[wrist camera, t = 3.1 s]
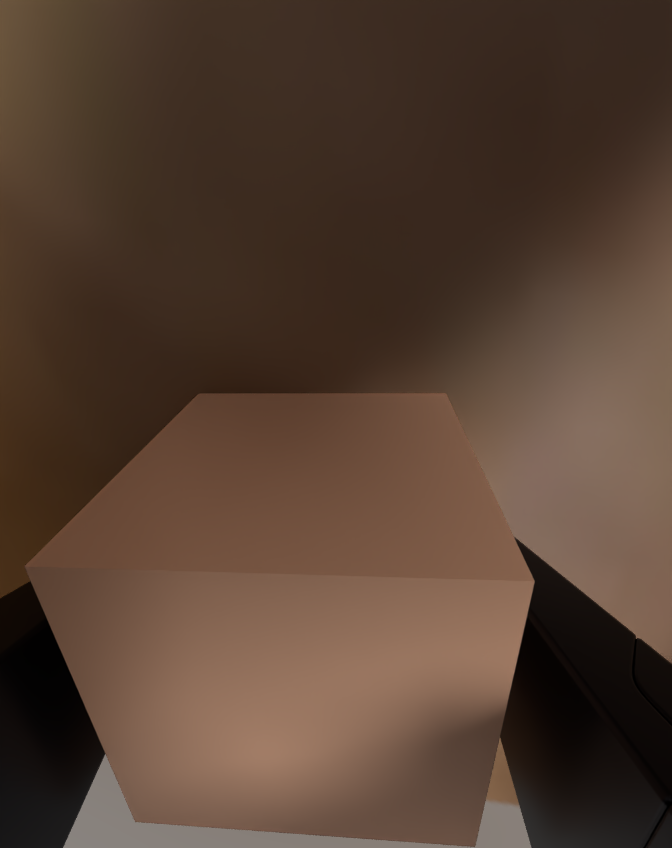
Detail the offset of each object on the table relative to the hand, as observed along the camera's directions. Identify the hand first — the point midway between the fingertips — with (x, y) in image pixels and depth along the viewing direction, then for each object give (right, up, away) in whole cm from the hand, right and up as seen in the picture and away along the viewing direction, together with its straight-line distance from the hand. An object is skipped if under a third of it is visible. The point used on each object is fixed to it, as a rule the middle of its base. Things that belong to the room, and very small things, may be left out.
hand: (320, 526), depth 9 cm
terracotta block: (0, 0, +1) cm, 1 cm away
